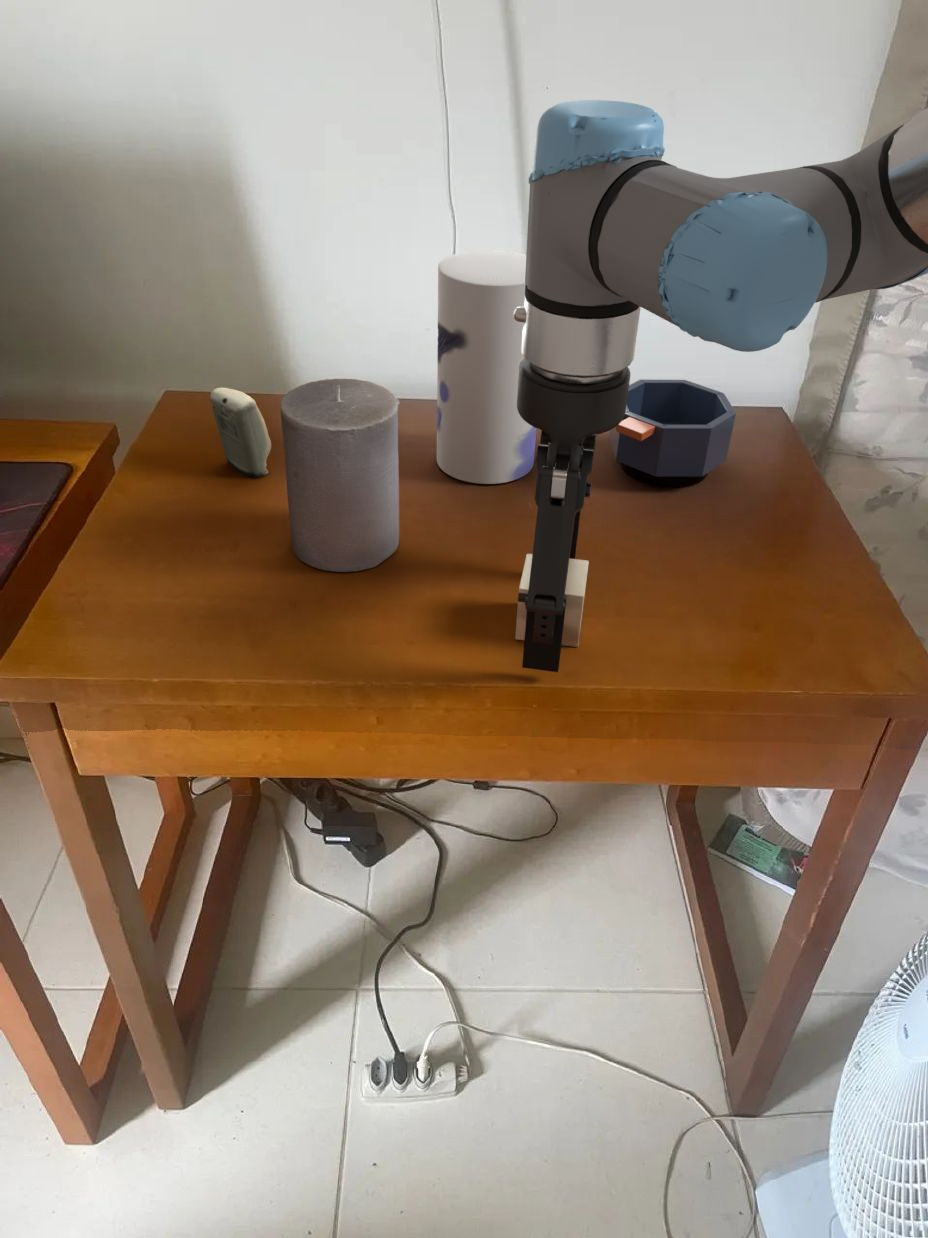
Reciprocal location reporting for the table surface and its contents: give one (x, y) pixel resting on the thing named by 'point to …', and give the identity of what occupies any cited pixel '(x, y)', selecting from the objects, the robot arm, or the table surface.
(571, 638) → the block
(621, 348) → the robot arm
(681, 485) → the bowl foot
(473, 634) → the table surface
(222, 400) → the off-white long rounded piece
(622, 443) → the bowl
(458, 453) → the container
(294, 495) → the pillar candle
